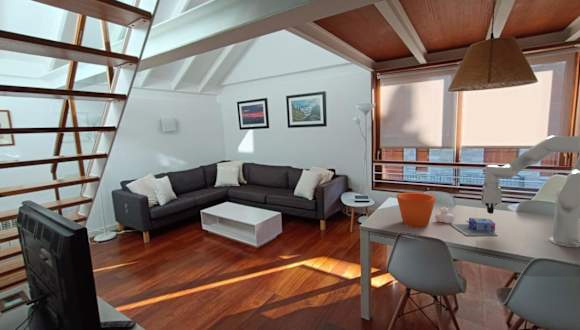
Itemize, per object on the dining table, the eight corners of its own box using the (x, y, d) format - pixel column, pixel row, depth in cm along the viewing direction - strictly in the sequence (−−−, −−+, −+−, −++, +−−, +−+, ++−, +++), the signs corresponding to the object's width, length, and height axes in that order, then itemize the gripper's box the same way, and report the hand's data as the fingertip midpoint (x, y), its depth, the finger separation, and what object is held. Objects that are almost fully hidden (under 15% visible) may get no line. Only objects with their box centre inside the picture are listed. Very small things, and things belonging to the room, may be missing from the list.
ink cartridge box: (495, 222, 171) (468, 222, 176) (495, 231, 172) (468, 230, 177) (490, 218, 180) (464, 217, 185) (490, 226, 181) (464, 225, 186)
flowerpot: (410, 231, 179) (411, 202, 176) (389, 220, 203) (389, 194, 201) (444, 227, 184) (444, 198, 181) (419, 216, 208) (419, 191, 206)
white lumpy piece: (454, 225, 192) (453, 210, 197) (455, 222, 186) (454, 206, 191) (434, 223, 198) (434, 209, 203) (435, 220, 192) (435, 205, 197)
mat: (497, 236, 166) (497, 235, 166) (466, 236, 168) (466, 235, 168) (477, 224, 186) (477, 223, 186) (449, 225, 188) (450, 224, 188)
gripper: (482, 186, 169) (481, 215, 172) (508, 185, 168) (506, 214, 170) (475, 184, 177) (474, 211, 179) (500, 183, 176) (498, 211, 178)
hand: (490, 213), depth 175 cm, fingers closed
